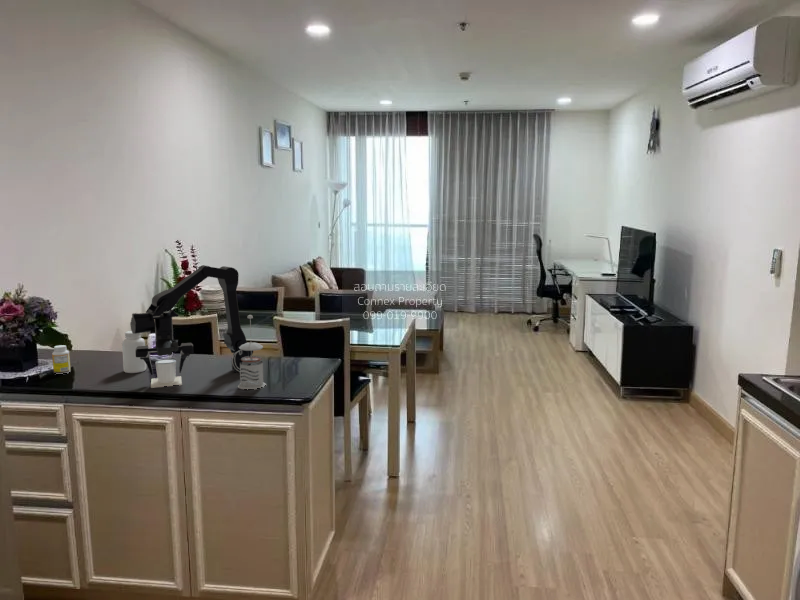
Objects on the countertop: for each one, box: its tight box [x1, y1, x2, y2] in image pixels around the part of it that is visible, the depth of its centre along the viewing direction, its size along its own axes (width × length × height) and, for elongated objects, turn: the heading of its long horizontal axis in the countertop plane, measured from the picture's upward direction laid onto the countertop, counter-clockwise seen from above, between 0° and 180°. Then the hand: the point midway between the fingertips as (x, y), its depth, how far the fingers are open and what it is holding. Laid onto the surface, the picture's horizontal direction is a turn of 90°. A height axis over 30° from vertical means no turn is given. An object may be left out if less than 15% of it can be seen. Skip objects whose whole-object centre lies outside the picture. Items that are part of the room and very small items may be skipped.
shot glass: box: [154, 358, 177, 383], centre depth 212 cm, size 7×7×7 cm
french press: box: [231, 314, 267, 391], centre depth 209 cm, size 10×12×25 cm
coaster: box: [150, 375, 183, 389], centre depth 213 cm, size 10×10×1 cm
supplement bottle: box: [51, 344, 71, 375], centre depth 223 cm, size 6×6×10 cm
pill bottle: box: [121, 330, 147, 374], centre depth 227 cm, size 8×8×15 cm
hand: (166, 373), depth 213 cm, fingers open, 9 cm apart
